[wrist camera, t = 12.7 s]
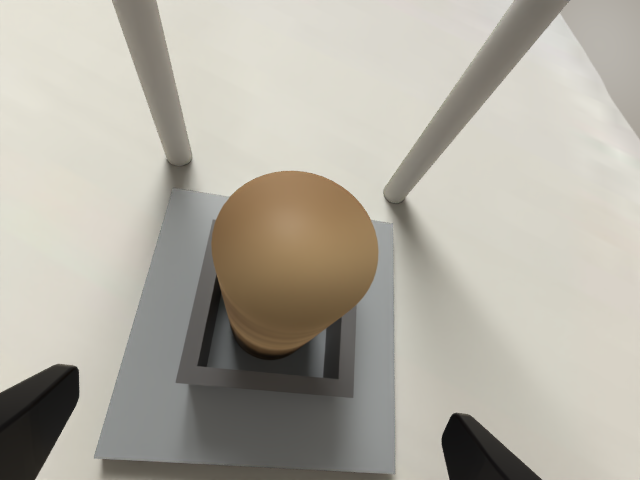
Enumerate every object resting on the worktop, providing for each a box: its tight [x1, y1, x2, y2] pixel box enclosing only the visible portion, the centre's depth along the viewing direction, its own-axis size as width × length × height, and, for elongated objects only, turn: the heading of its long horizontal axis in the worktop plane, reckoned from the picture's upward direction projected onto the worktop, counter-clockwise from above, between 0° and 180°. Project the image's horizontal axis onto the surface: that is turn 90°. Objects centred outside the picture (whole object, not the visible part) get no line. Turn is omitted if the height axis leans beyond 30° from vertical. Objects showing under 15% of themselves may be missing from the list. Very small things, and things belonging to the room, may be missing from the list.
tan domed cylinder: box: [211, 171, 379, 360], centre depth 14 cm, size 4×4×11 cm
